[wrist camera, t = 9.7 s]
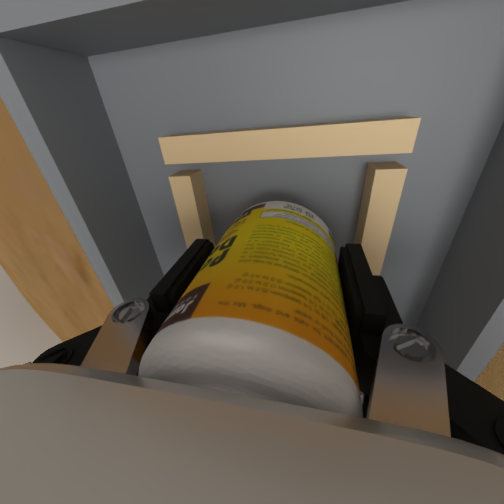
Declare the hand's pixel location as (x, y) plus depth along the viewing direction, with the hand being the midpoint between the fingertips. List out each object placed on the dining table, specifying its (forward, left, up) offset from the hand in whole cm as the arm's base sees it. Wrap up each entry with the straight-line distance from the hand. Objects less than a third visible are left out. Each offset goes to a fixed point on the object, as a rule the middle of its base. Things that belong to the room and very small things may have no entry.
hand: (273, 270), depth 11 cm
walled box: (0, 0, -5) cm, 5 cm away
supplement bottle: (0, 0, -2) cm, 2 cm away
